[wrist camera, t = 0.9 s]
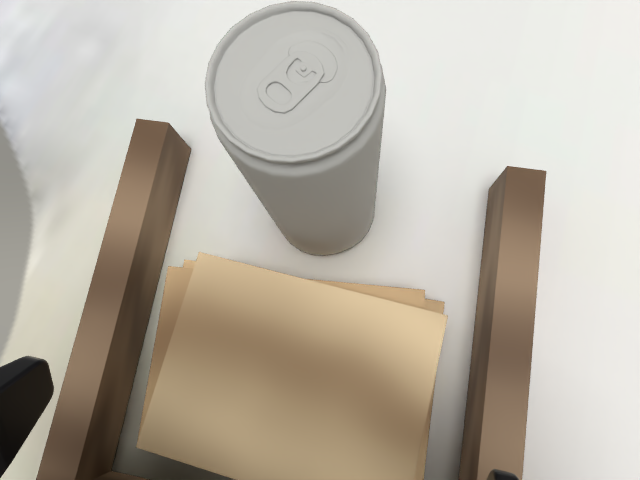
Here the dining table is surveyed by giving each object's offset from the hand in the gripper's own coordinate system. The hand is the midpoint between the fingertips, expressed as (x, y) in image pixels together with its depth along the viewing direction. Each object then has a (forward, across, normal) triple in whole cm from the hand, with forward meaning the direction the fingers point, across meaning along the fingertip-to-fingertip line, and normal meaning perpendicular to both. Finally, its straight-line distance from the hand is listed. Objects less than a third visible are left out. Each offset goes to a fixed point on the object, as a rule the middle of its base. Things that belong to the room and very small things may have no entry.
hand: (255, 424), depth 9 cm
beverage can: (+15, +1, +3) cm, 15 cm away
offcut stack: (+10, +1, +8) cm, 13 cm away
